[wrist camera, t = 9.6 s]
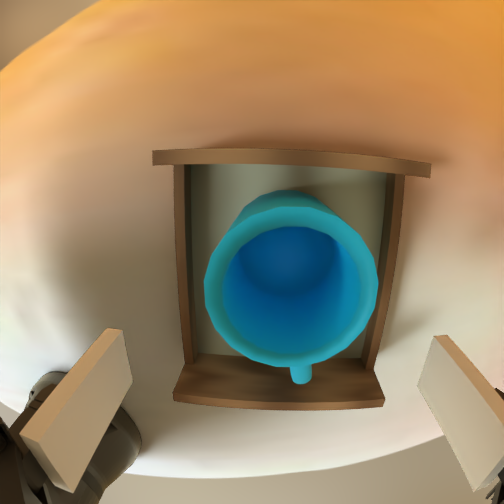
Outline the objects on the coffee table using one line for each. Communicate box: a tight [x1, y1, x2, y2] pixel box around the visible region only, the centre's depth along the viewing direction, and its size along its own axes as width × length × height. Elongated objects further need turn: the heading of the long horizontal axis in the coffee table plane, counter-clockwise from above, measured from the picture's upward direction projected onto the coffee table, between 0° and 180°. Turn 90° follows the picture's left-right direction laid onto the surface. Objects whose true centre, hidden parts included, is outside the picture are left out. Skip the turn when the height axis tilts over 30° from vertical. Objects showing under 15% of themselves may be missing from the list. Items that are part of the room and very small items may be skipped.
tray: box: [153, 148, 431, 410], centre depth 20 cm, size 15×17×6 cm
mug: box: [204, 190, 378, 384], centre depth 19 cm, size 12×8×8 cm
